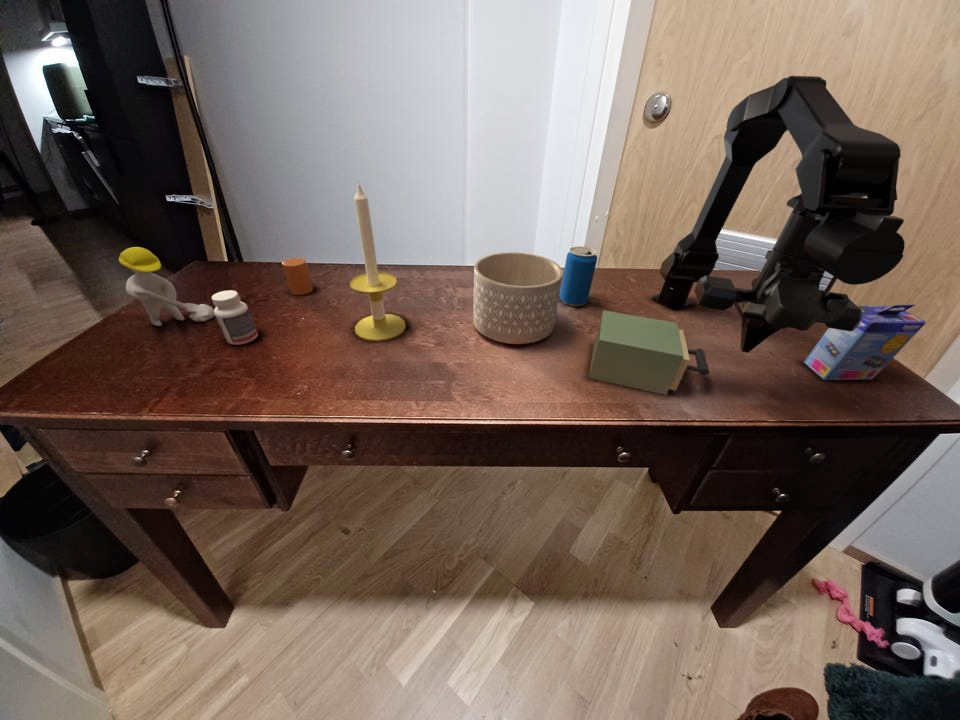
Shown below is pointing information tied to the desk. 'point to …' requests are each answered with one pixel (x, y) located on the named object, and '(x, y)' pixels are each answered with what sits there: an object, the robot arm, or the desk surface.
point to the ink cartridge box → (864, 344)
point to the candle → (373, 282)
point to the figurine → (156, 288)
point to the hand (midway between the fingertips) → (744, 350)
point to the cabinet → (636, 352)
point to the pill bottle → (234, 318)
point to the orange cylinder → (297, 276)
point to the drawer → (684, 365)
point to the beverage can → (578, 276)
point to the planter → (516, 296)
